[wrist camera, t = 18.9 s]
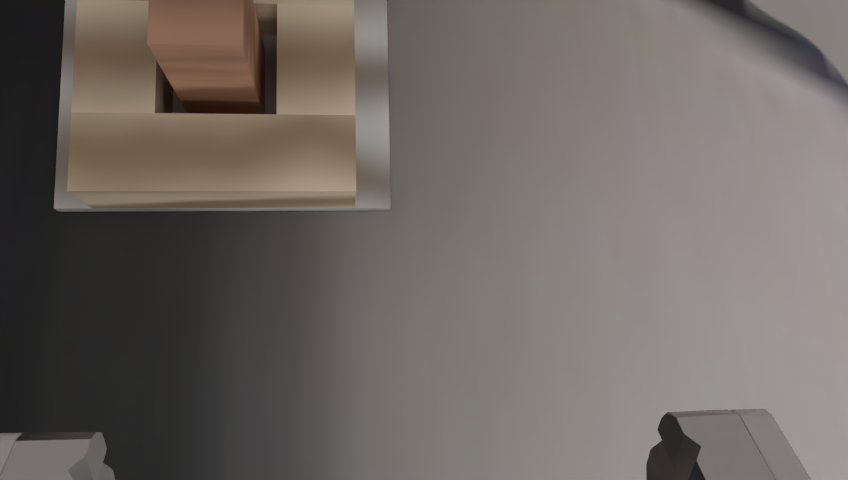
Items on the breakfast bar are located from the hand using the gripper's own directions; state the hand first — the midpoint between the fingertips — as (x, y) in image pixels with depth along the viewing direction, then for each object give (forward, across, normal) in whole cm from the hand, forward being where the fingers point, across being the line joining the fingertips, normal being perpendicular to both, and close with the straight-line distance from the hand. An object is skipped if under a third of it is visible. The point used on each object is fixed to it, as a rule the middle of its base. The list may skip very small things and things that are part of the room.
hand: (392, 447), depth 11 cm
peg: (+34, +7, +10) cm, 36 cm away
